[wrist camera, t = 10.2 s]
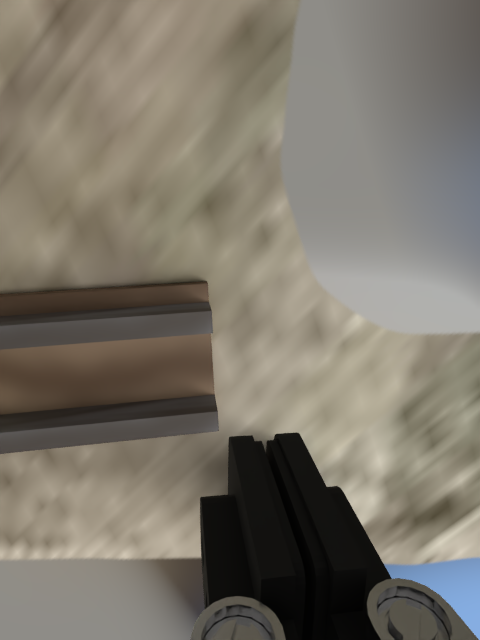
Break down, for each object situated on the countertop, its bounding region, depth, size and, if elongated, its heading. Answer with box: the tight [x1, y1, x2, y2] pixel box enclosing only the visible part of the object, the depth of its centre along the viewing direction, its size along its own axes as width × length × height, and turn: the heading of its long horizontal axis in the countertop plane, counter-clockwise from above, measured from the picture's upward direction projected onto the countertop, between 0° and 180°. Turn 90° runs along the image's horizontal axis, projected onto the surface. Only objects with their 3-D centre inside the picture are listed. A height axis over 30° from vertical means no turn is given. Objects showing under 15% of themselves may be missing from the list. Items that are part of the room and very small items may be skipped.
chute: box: [0, 281, 219, 454], centre depth 31 cm, size 12×24×5 cm, turn 92°
